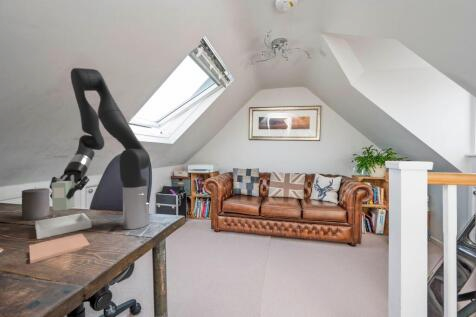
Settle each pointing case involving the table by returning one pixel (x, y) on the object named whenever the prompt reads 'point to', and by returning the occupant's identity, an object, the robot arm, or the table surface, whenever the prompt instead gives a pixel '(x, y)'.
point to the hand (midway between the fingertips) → (60, 197)
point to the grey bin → (61, 225)
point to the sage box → (62, 196)
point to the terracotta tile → (57, 247)
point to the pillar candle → (35, 203)
